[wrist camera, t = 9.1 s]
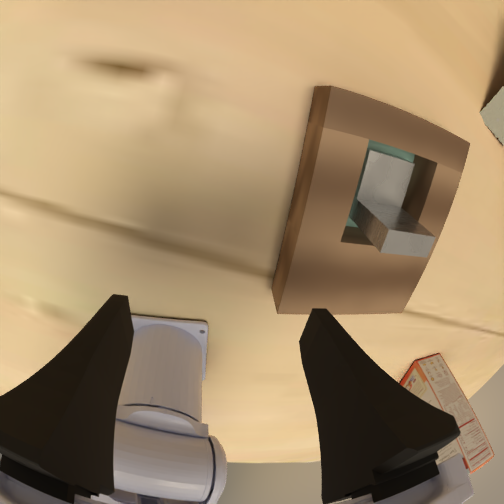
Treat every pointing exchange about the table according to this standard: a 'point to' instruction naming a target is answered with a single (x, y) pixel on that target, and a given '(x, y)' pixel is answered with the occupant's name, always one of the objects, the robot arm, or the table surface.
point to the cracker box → (450, 410)
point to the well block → (341, 198)
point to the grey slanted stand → (495, 115)
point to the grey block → (388, 206)
